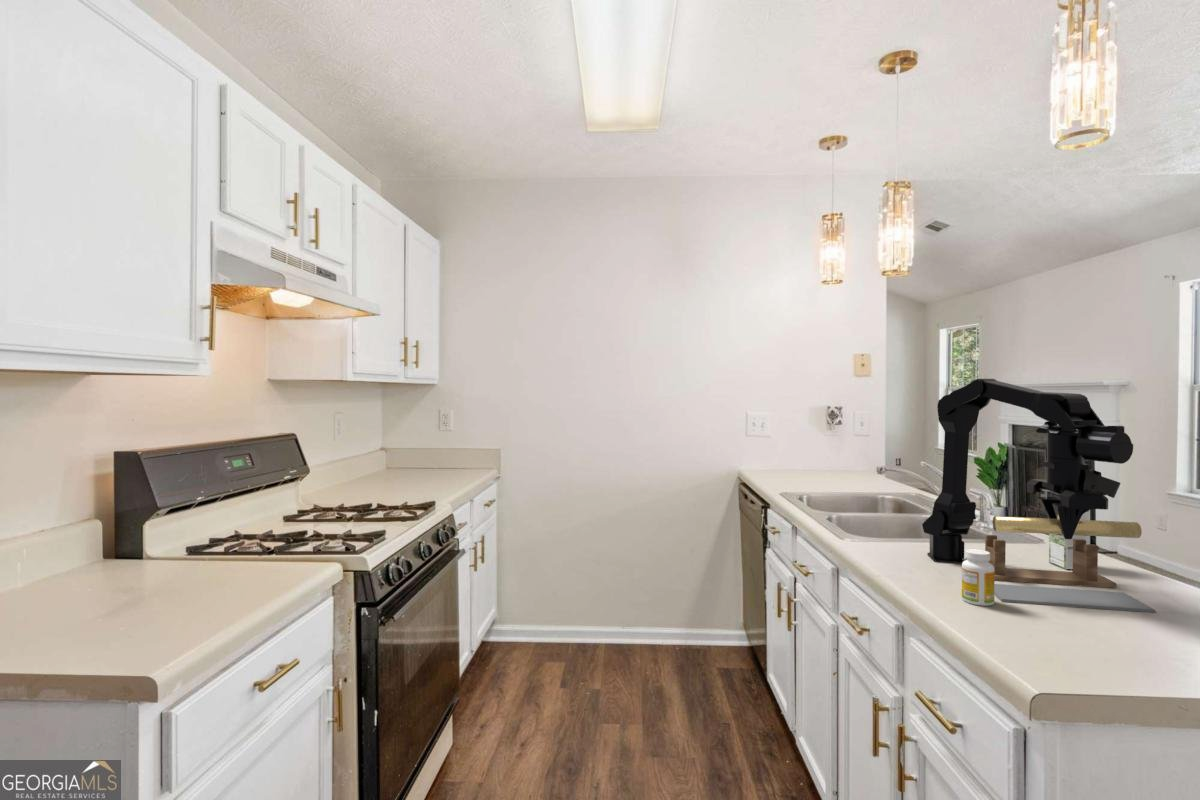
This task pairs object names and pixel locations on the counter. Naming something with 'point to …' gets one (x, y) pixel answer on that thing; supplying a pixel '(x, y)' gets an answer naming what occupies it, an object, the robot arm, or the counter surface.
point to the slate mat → (1069, 597)
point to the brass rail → (1054, 528)
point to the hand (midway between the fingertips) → (1063, 537)
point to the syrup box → (1064, 547)
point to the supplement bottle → (978, 578)
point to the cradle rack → (1081, 575)
